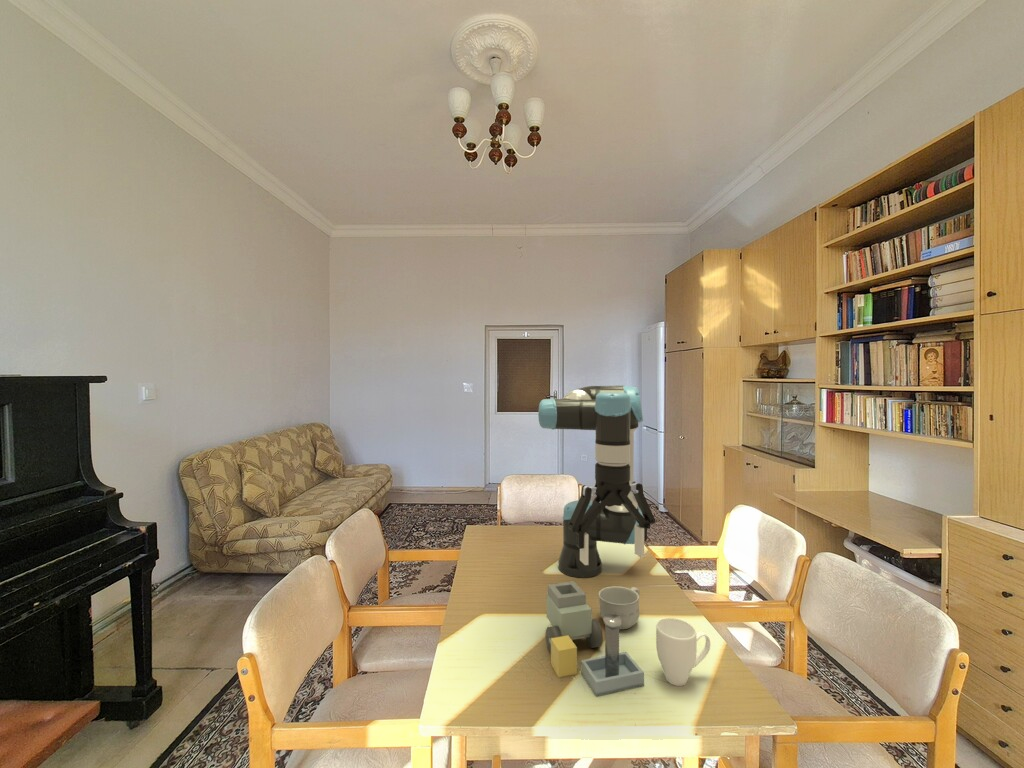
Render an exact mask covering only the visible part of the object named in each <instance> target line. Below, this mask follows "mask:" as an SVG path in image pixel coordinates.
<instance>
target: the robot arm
mask: <svg viewBox="0 0 1024 768" xmlns="http://www.w3.org/2000/svg"><path fill="white" fill-rule="evenodd" d="M642 408H643V407H642V402H641V395H640V390H639V388H638V387H636V386H630V385H590V386H589V385H588V386H584V387H579V388H576V389H573V390H570V391H569V392H568V393H566V395H564V397H562V398H547V399H546V398H545V399H542V400H540V402H539V404H538V411H537V413H538V417H537V418H538V423H539V426H540V428H542V429H547V430H549V429H550V430H551V431H552V430H578V431H579V430H580V431H595V439H594V440H595V444H594V446H595V447H594V448H595V449H594V452H595V454H594V455H595V457H594V459H595V461H596V462H595V464H594V466H595V467H594V470H595V471H594V480H595V484H594V486H587V485H585V484H584V485H582V486H581V491H580V496H579V499H577V500H573V501H569V502H568V503H566V504H565V505H564V508H563V514H562V519H563V520H562V521H563V524H562V525H563V527H562V529H563V530H562V531H563V532H562V535H563V537H562V540H563V542H562V543H563V544H562V548H561V551H560V555H559V558H558V561H557V562H558V565H557V568H558V570H559V571H560V572H561V573H563V574H565V575H567V576H570V577H574V578H585V579H586V578H593V577H597V576H598V575H600V573H602V569H603V564H602V559H601V557H600V554H599V550H598V545H597V542H602V543H603V542H604V543H605V542H606V543H613V544H623V545H634V555H636V556H637V557H639V558H641V559H643V558H645V542H647V540H648V529H650V528H651V525H654V524H656V518H655V516H654V514H653V512H652V510H651V508H650V505H649V503H648V501H647V499H646V497H645V494H644V487H643V484H642V483H639V482H637V481H634V459H635V457H634V443H635V442H634V437H635V436H634V434H635V433H634V432H635V431H637V430H638V429H639V423H642V422H643V421H644V417H643V410H642ZM594 494H595V497H594ZM593 497H594V499H593V500H592V498H593ZM634 499H635V500H634Z"/></svg>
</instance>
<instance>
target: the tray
mask: <svg viewBox="0 0 1024 768" xmlns="http://www.w3.org/2000/svg"><path fill="white" fill-rule="evenodd" d="M580 674H581V676H582V677H583V679H584V681H585V682H586V683H587V685H588V686H589V688H590V690H591V691H592V692H593V694H594V696H595V697H596V698H598V697H601V696H604V695H609V694H615V693H618V692H622V691H626V690H627V691H629V690H632V689H637V688H641V687H644V686H645V672H644V670H643V669H642V668H641V667H640V666H639V664H638V663H637V662H636V661H635V660H634V659H633V657H631V656H630V654H629V653H628V652H627V651H622V652H619V675H617V676H612V677H607V678H606V677H605V655H601V656H597V657H591V658H587V659H581V660H580Z"/></svg>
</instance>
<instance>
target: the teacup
mask: <svg viewBox="0 0 1024 768" xmlns="http://www.w3.org/2000/svg"><path fill="white" fill-rule="evenodd" d="M600 589H601V588H600ZM598 605H599V614H600V616H601V618H602V620H603V617H604V615H606V614H615V615H618V616H619V617H620V618H621V626H620V627H619V630H627V629H629V628H631V627H633V626H634V625H635V624H637V622H638V621H639V617H640V590H639V588H638V587H635V586H633V587H631V588H629V587H625V586H618V585H617V586H614V585H613V586H607V587H603V588H602V589H601V590H599V591H598Z"/></svg>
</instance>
